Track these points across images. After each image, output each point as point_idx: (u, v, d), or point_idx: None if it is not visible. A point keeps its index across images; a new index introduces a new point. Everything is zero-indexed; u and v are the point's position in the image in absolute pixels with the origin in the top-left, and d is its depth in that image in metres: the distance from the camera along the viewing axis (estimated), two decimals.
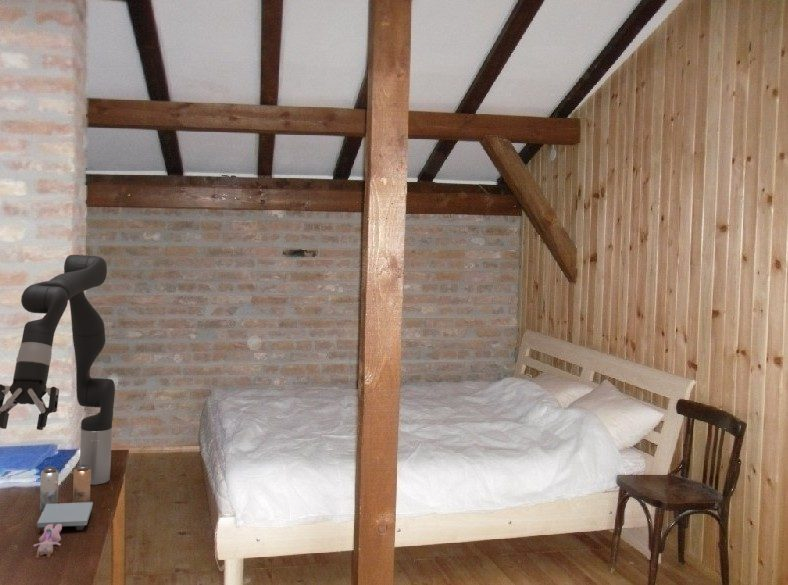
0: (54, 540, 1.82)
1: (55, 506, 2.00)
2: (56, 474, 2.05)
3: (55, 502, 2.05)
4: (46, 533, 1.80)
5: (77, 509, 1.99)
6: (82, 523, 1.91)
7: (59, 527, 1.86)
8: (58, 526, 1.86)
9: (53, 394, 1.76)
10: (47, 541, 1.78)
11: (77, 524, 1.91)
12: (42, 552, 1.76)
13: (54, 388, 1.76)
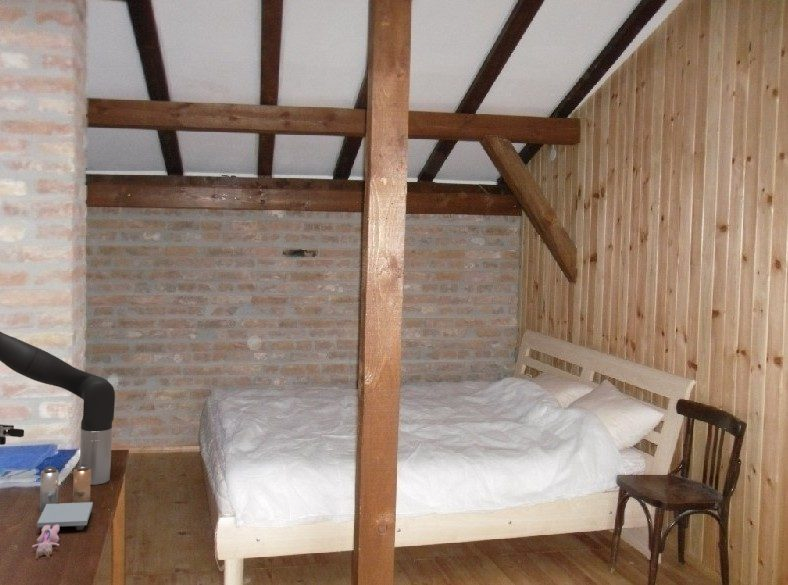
0: (52, 541, 1.82)
1: (55, 506, 2.00)
2: (56, 474, 2.05)
3: (55, 502, 2.05)
4: (45, 534, 1.79)
5: (77, 509, 1.99)
6: (82, 523, 1.91)
7: (57, 528, 1.86)
8: (56, 527, 1.86)
9: None
10: (46, 542, 1.78)
11: (77, 524, 1.91)
12: (41, 553, 1.76)
13: None
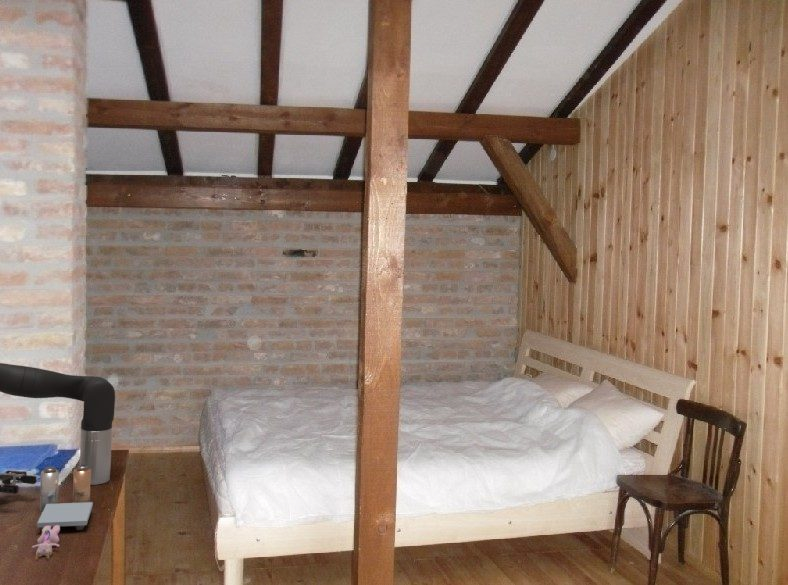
0: (52, 541, 1.81)
1: (55, 506, 2.00)
2: (56, 474, 2.05)
3: (55, 502, 2.05)
4: (45, 534, 1.79)
5: (77, 509, 1.99)
6: (82, 523, 1.91)
7: (57, 528, 1.85)
8: (56, 527, 1.86)
9: None
10: (46, 542, 1.78)
11: (77, 524, 1.91)
12: (41, 553, 1.76)
13: None
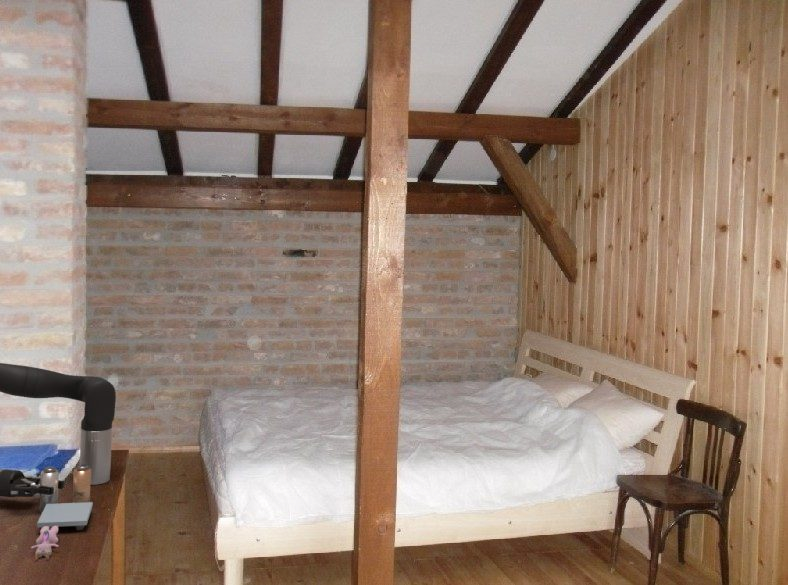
0: (51, 542, 1.81)
1: (55, 506, 2.00)
2: (56, 474, 2.05)
3: (55, 502, 2.05)
4: (44, 535, 1.79)
5: (77, 509, 1.99)
6: (82, 523, 1.91)
7: (56, 529, 1.85)
8: (54, 528, 1.85)
9: None
10: (45, 543, 1.77)
11: (77, 524, 1.91)
12: (40, 554, 1.75)
13: None
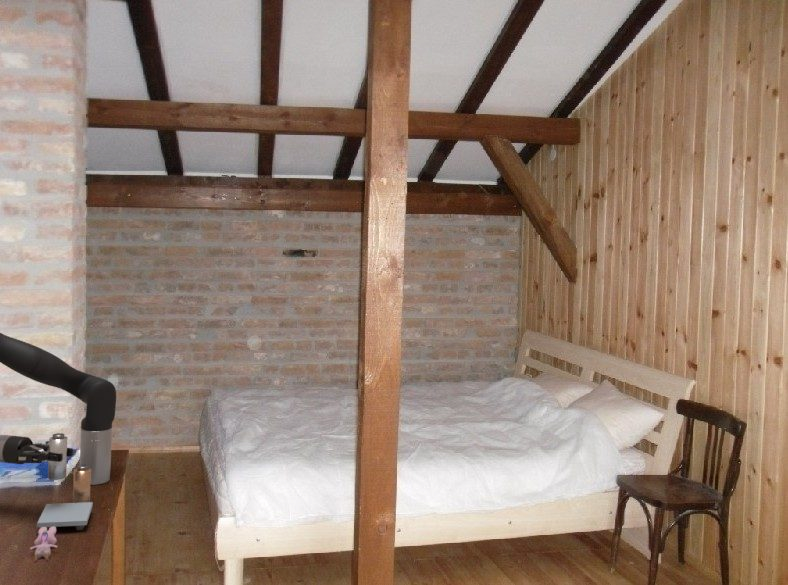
0: (50, 542, 1.81)
1: (55, 506, 2.00)
2: (65, 441, 1.99)
3: (64, 469, 1.99)
4: (42, 536, 1.78)
5: (77, 509, 1.99)
6: (82, 523, 1.91)
7: (54, 529, 1.84)
8: (52, 528, 1.85)
9: None
10: (44, 544, 1.77)
11: (77, 524, 1.91)
12: (40, 555, 1.75)
13: (19, 462, 1.94)
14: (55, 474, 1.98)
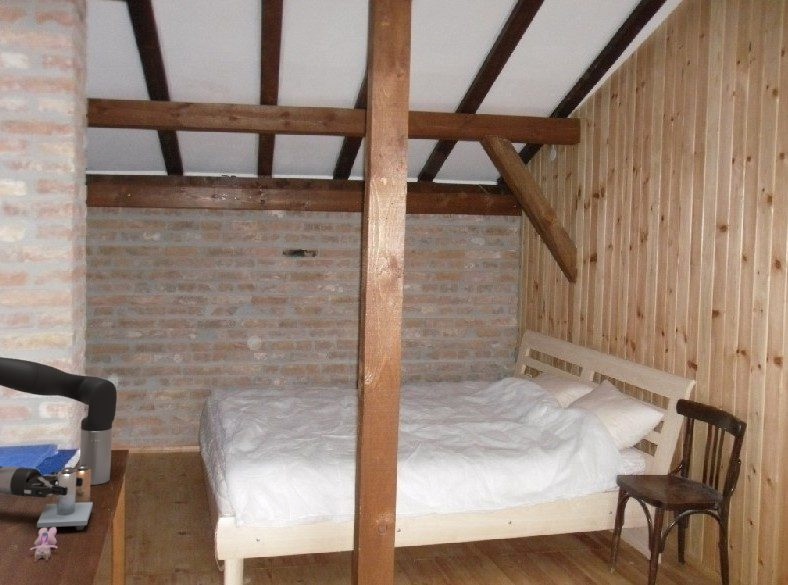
0: (50, 543, 1.80)
1: (55, 506, 2.00)
2: (74, 475, 1.95)
3: (73, 504, 1.96)
4: (42, 536, 1.78)
5: (77, 509, 1.99)
6: (82, 523, 1.91)
7: (54, 530, 1.84)
8: (53, 529, 1.84)
9: None
10: (44, 544, 1.76)
11: (77, 524, 1.91)
12: (40, 556, 1.74)
13: (25, 495, 1.90)
14: (65, 509, 1.94)
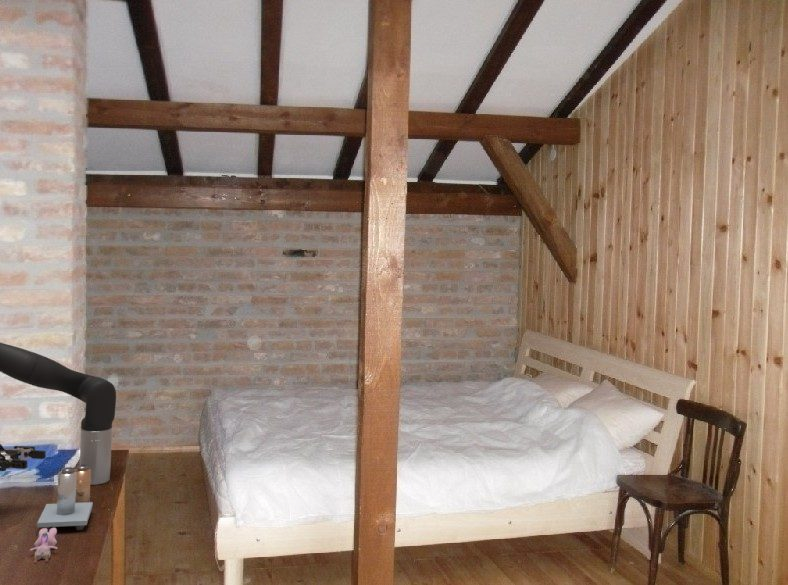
0: (50, 544, 1.80)
1: (55, 506, 2.00)
2: (74, 475, 1.95)
3: (73, 504, 1.96)
4: (42, 537, 1.77)
5: (77, 509, 1.99)
6: (82, 523, 1.91)
7: (54, 531, 1.84)
8: (53, 530, 1.84)
9: None
10: (44, 545, 1.76)
11: (77, 524, 1.91)
12: (39, 556, 1.74)
13: None
14: (65, 509, 1.94)
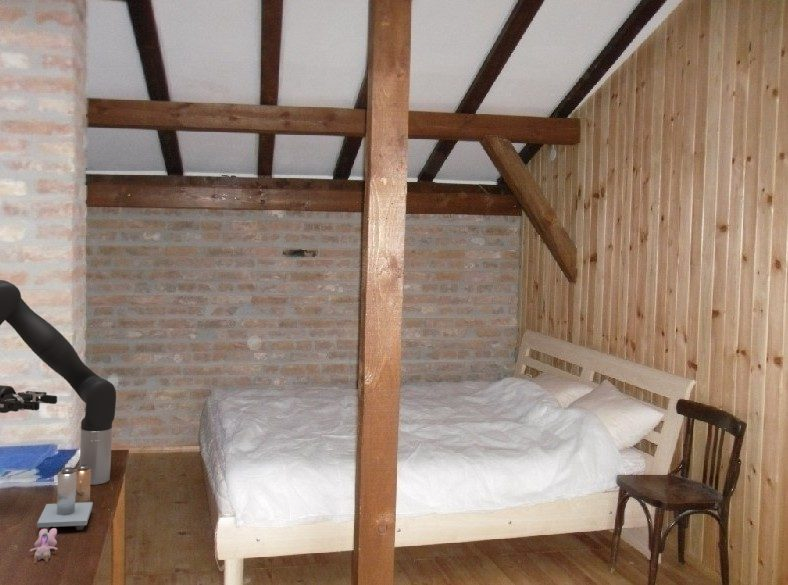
0: (50, 544, 1.79)
1: (55, 506, 2.00)
2: (74, 475, 1.95)
3: (73, 504, 1.96)
4: (42, 538, 1.77)
5: (77, 509, 1.99)
6: (82, 523, 1.91)
7: (54, 531, 1.83)
8: (53, 530, 1.84)
9: None
10: (44, 546, 1.76)
11: (77, 524, 1.91)
12: (39, 557, 1.74)
13: None
14: (65, 509, 1.94)
